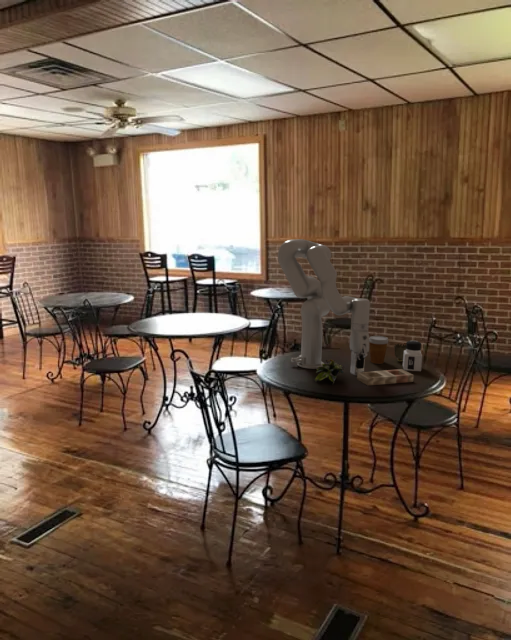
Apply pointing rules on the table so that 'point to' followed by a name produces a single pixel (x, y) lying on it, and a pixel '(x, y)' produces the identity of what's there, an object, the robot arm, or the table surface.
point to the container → (412, 356)
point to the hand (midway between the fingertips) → (357, 366)
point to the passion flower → (329, 370)
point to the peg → (355, 363)
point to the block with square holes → (384, 377)
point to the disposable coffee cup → (378, 348)
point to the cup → (399, 351)
